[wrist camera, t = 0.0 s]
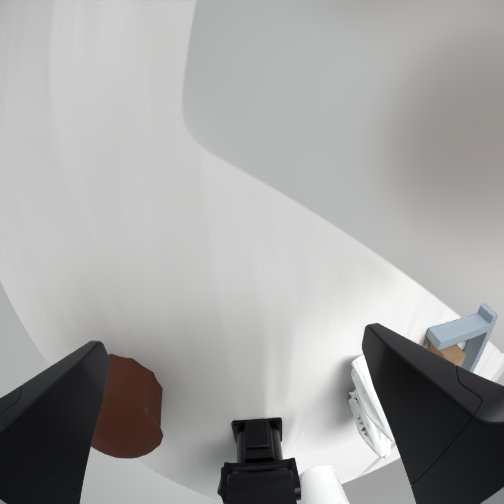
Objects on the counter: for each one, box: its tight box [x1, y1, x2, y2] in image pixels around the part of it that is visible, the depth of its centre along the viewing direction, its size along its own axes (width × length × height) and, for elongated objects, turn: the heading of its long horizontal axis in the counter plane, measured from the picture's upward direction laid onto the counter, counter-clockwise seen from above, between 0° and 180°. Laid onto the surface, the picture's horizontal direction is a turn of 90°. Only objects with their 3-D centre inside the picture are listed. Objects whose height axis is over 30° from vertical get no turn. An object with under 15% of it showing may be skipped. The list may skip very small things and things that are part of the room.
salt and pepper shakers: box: [348, 355, 395, 458], centre depth 24 cm, size 12×4×11 cm, turn 14°
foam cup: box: [302, 466, 349, 504], centre depth 33 cm, size 10×9×13 cm
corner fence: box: [426, 304, 498, 373], centre depth 28 cm, size 16×11×3 cm
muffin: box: [91, 354, 163, 458], centre depth 23 cm, size 12×11×10 cm
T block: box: [429, 343, 466, 367], centre depth 27 cm, size 9×9×4 cm
